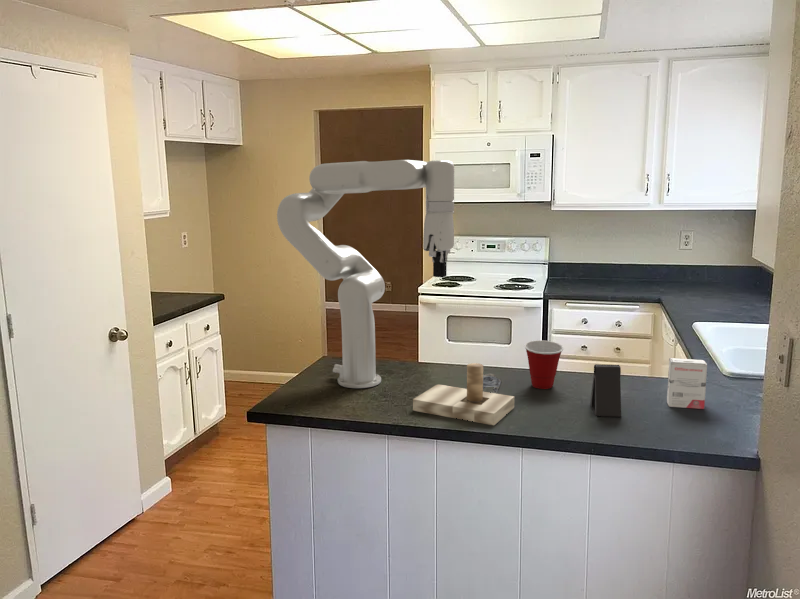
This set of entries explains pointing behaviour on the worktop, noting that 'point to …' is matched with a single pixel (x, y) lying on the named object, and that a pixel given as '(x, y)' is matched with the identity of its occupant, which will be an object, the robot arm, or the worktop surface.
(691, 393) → the ink box
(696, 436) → the worktop surface
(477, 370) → the peg
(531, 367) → the plastic cup
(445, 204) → the robot arm
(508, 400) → the board
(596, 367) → the phone stand
